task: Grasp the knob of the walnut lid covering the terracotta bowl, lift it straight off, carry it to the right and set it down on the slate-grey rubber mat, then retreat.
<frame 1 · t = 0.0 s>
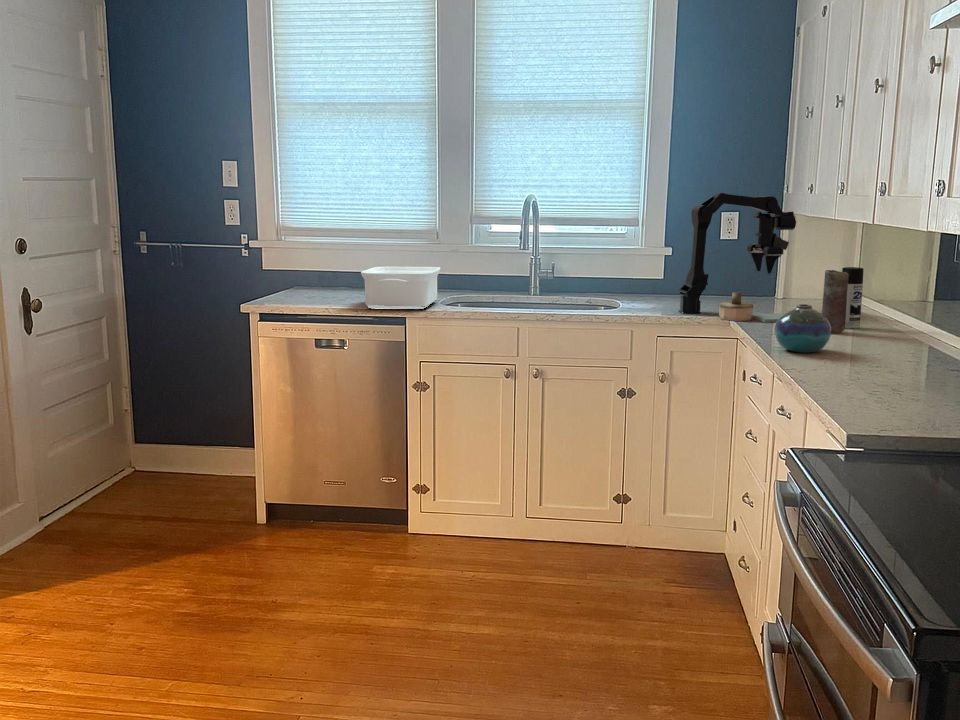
hand: (763, 272, 333), 15 cm above the countertop, fingers open, 9 cm apart
white storage tub: (402, 306, 357), on the countertop
vase: (801, 351, 256), on the countertop
lid: (736, 306, 316), point 4 cm above the countertop, touching bowl
spray can: (848, 328, 296), on the countertop
mat: (773, 319, 316), on the countertop
candle: (832, 332, 287), on the countertop
bowl: (735, 318, 317), on the countertop
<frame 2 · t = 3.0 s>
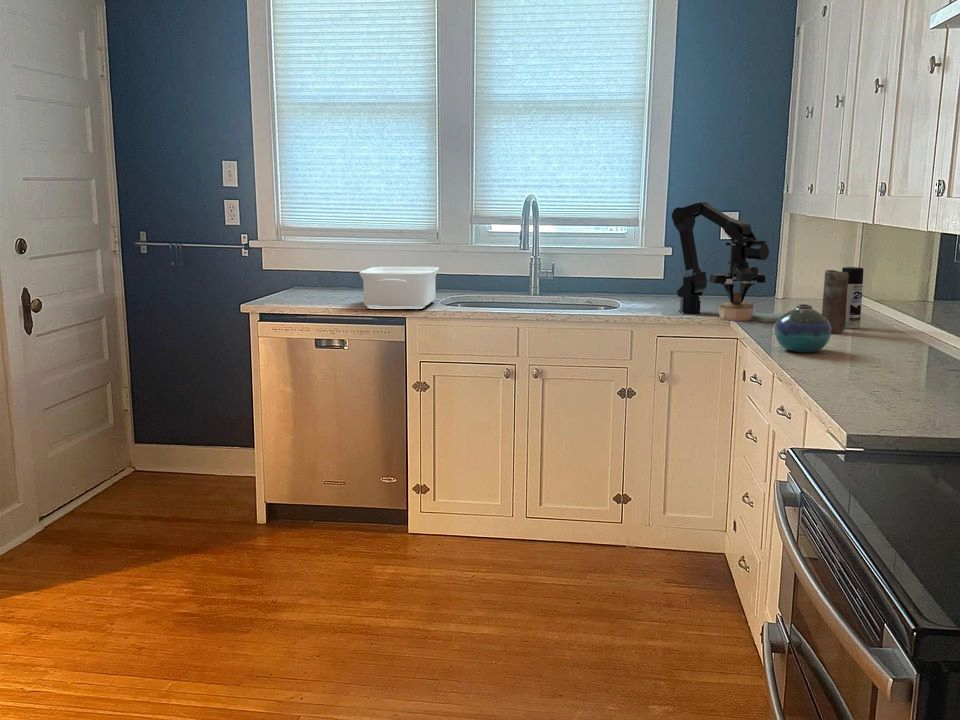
hand: (736, 302, 316), 6 cm above the countertop, fingers closed on lid, 3 cm apart
lid: (736, 306, 316), point 4 cm above the countertop, touching bowl, gripper
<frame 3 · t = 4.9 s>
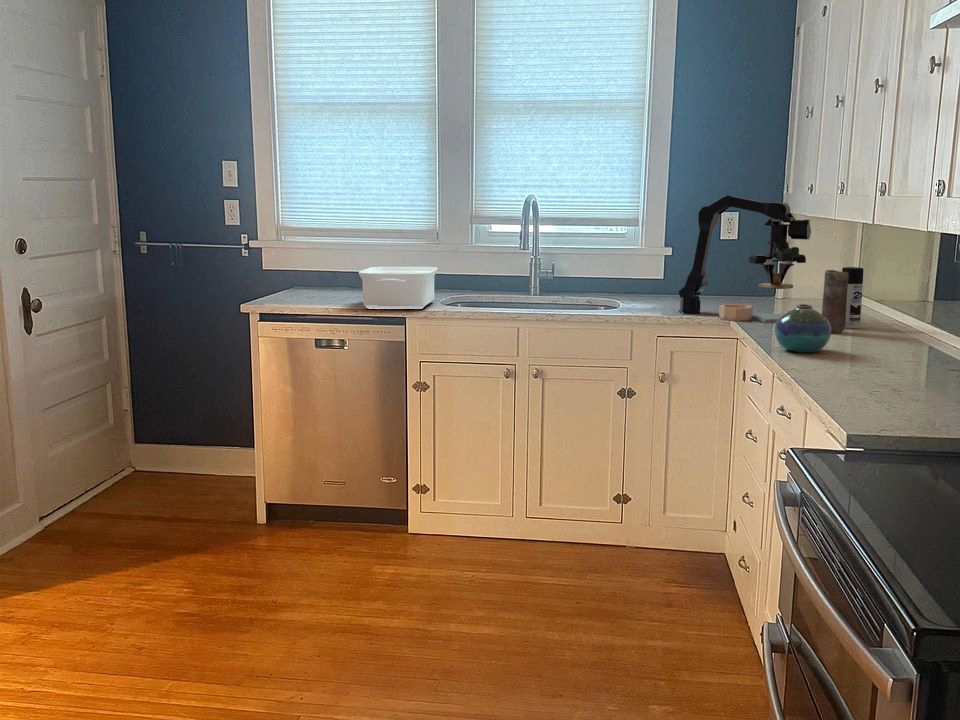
hand: (775, 283, 313), 13 cm above the countertop, fingers closed on lid, 3 cm apart
lid: (775, 287, 314), point 11 cm above the countertop, touching gripper
when the fingers open (4 cm above the countertop, at t = 6.8 s): lid drops 1 cm, resting on mat.
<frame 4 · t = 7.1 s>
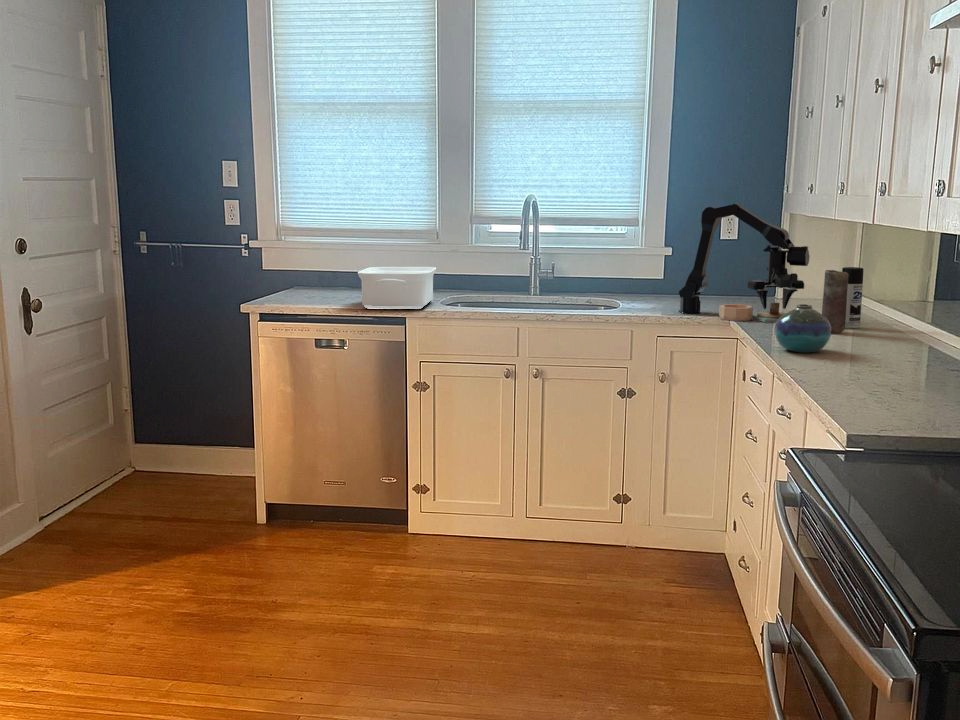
hand: (774, 308, 315), 4 cm above the countertop, fingers open, 7 cm apart
lid: (774, 316, 316), point 1 cm above the countertop, touching mat
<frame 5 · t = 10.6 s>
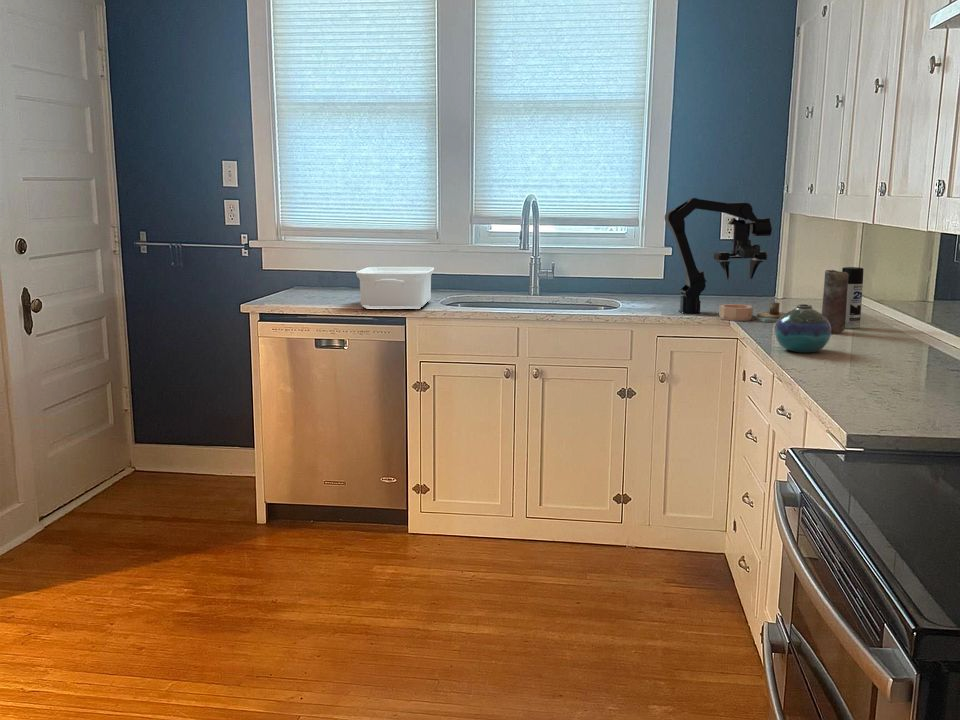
hand: (739, 279, 330), 13 cm above the countertop, fingers open, 9 cm apart
at the end: lid inside the target area on the mat (0.1 cm from its centre), point 1.0 cm above the mat's base; lid touching mat; lid tilted 0° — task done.
